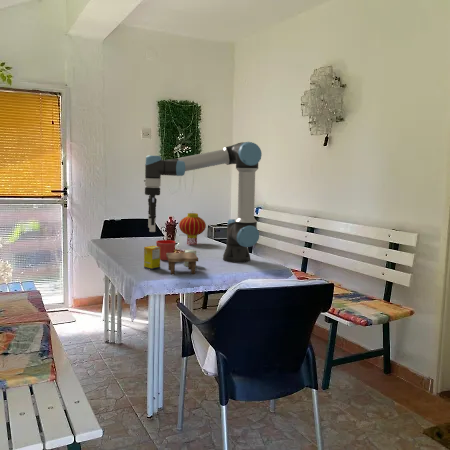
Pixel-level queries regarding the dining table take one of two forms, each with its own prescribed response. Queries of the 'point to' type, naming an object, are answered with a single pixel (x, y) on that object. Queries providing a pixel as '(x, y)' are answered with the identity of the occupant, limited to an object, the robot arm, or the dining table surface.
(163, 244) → the flower pot
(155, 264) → the supplement box
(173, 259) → the footstool
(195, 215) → the lantern
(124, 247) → the dining table surface
